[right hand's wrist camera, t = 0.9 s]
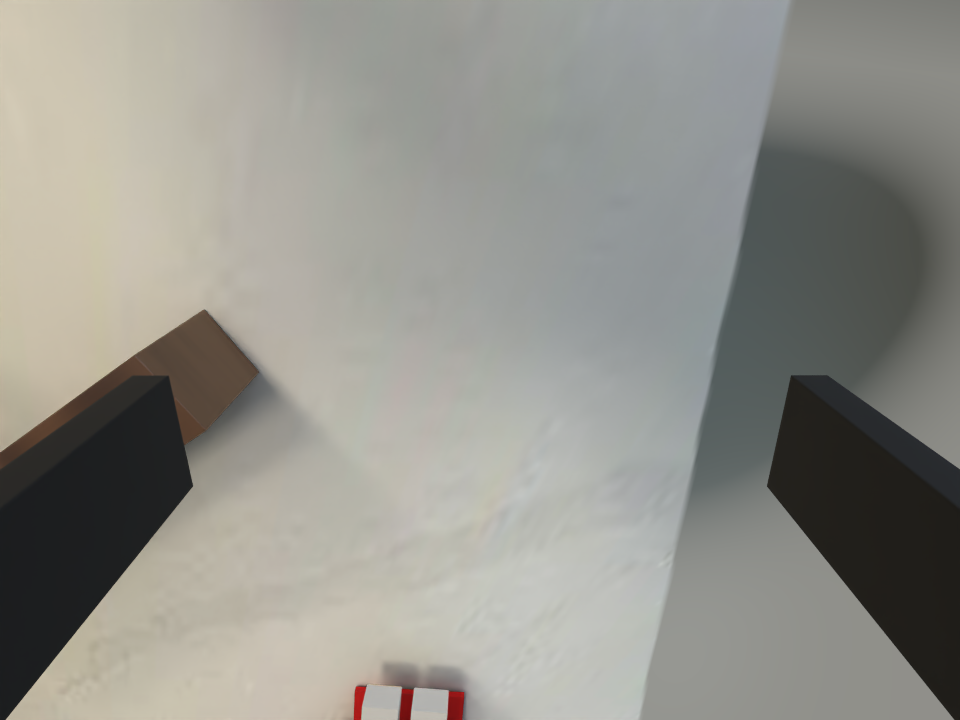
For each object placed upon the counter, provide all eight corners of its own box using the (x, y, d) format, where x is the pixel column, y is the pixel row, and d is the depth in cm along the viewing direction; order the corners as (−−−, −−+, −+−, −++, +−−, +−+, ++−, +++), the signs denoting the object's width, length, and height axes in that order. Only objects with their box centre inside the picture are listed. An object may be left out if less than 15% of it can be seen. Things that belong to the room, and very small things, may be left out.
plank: (-52, 582, 45) (-158, 672, 37) (-110, 536, 43) (-233, 621, 36) (259, 372, 38) (206, 430, 31) (204, 309, 37) (134, 354, 29)
